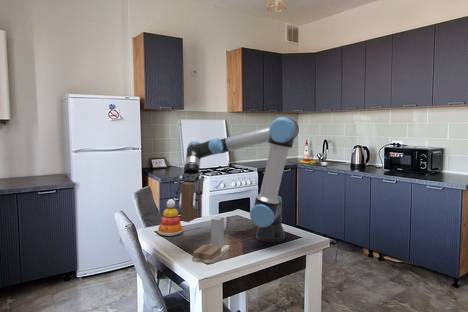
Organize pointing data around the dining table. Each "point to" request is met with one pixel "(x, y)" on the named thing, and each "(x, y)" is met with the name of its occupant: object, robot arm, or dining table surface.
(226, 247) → the base board
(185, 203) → the wooden block
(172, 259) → the dining table surface
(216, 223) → the grey pillar
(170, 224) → the stacking toy
